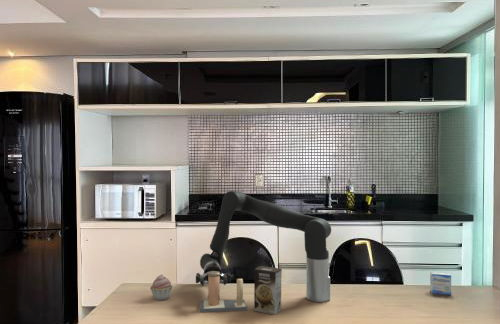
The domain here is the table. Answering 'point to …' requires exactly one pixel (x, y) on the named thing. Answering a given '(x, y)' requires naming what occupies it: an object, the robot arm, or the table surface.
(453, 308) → the table surface
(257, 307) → the coffee box
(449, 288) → the medicine box
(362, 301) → the table surface
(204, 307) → the grey stand with post
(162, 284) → the cupcake
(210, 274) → the spice jar
